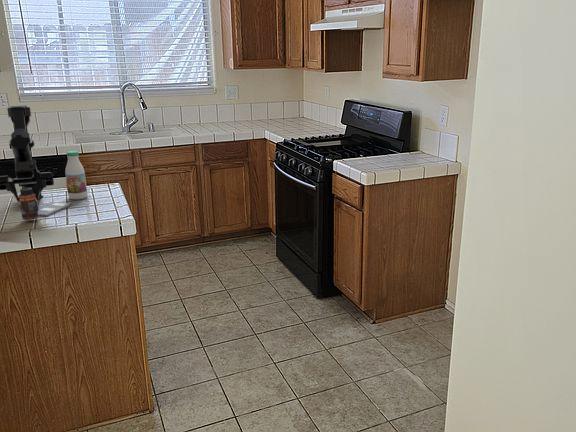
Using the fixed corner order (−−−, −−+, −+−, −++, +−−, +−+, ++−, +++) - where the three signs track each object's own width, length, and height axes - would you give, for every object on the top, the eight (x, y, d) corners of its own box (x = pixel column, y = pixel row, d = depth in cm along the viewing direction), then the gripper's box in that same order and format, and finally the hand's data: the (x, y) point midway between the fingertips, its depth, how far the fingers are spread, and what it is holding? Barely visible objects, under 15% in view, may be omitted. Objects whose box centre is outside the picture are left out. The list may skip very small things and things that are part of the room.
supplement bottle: (43, 216, 191) (38, 187, 187) (32, 221, 185) (27, 191, 182) (30, 215, 192) (25, 186, 189) (18, 219, 187) (13, 190, 183)
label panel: (24, 214, 196) (23, 212, 196) (51, 203, 211) (51, 201, 211) (46, 216, 194) (46, 214, 194) (72, 205, 209) (72, 203, 208)
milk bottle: (68, 196, 222) (62, 150, 216) (87, 194, 225) (81, 149, 219) (68, 200, 215) (62, 153, 209) (88, 198, 218) (82, 152, 212)
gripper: (-9, 154, 181) (-6, 192, 175) (49, 150, 188) (54, 186, 182) (-3, 171, 190) (0, 207, 184) (51, 167, 198) (56, 201, 191)
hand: (27, 200), depth 185 cm, fingers closed on supplement bottle, 6 cm apart
